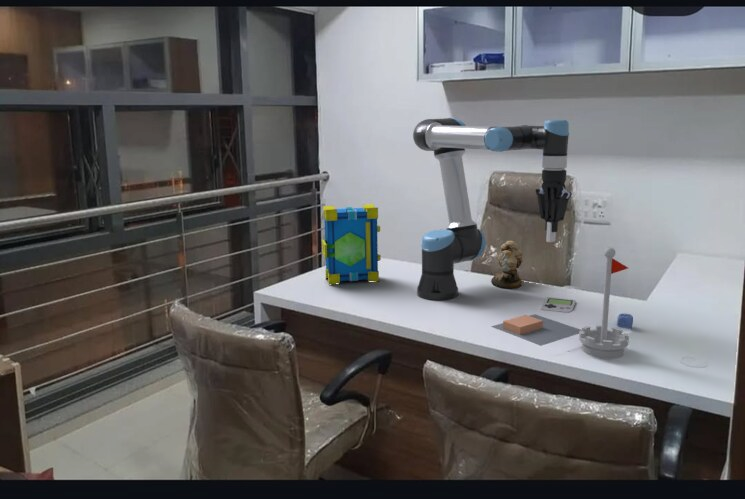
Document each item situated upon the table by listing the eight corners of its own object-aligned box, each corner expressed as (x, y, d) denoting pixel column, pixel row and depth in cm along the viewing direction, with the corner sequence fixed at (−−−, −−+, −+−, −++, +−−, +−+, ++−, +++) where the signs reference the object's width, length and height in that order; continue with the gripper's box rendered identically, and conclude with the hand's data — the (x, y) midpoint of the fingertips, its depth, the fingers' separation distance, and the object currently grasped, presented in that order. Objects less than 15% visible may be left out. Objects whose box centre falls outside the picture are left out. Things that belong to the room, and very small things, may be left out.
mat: (490, 328, 196) (490, 326, 196) (534, 315, 207) (534, 314, 207) (540, 347, 180) (540, 345, 180) (585, 333, 191) (585, 331, 191)
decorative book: (322, 277, 257) (320, 205, 251) (377, 274, 261) (376, 203, 255) (326, 287, 244) (323, 211, 237) (384, 283, 248) (383, 208, 241)
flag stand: (572, 354, 175) (578, 249, 168) (585, 339, 185) (592, 240, 179) (621, 363, 168) (630, 255, 161) (632, 348, 178) (640, 245, 172)
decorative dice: (630, 330, 192) (631, 318, 192) (616, 328, 194) (617, 316, 194) (632, 326, 196) (633, 314, 195) (619, 324, 198) (620, 312, 197)
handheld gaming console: (540, 308, 211) (546, 296, 225) (540, 312, 211) (546, 300, 225) (571, 311, 207) (576, 299, 221) (570, 316, 208) (575, 303, 221)
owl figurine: (489, 276, 255) (490, 235, 252) (518, 277, 254) (520, 236, 251) (493, 289, 238) (495, 245, 234) (525, 289, 237) (527, 245, 233)
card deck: (525, 322, 199) (502, 328, 194) (525, 314, 199) (503, 321, 193) (542, 328, 194) (519, 334, 188) (542, 320, 193) (520, 327, 188)
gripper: (578, 169, 196) (574, 243, 202) (546, 166, 207) (542, 236, 212) (563, 171, 192) (559, 246, 197) (530, 168, 203) (527, 239, 208)
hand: (550, 241), depth 205 cm, fingers closed
